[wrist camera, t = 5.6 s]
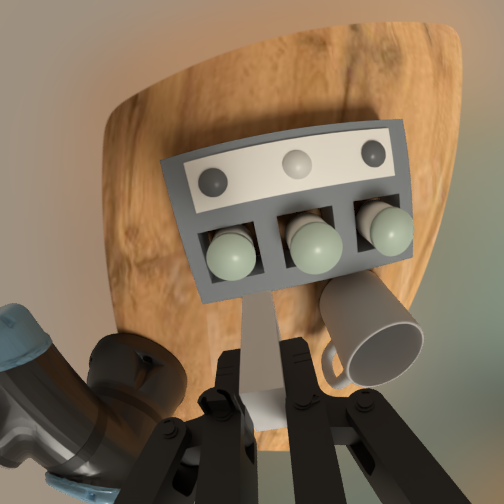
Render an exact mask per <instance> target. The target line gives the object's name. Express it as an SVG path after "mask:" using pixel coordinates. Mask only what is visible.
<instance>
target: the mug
mask: <svg viewBox="0 0 504 504" xmlns="http://www.w3.org/2000/svg"><path fill="white" fill-rule="evenodd" d="M319 307H320V313H321V316H322V319H323V321H324V323H325V325H326V327H327V330H328V332H329V334H330V337H331V341H330V342H329V343H328V345H327V346H326V348H325V349H324V351H323V354H322V359H321V363H322V370H323V374H324V377H325V379H326V381H327V382H328V384H329V385H330V386H331V387H332V388H334V389H342V388H344V387H346V386H348V385H349V384H350V383H351V382H352V383H353V384H355V385H358V386H361V387H374V386H378V385H382V384H385V383H387V382H390V381H392V380H393V379H395V378H397V377H398V376H400V375H401V374H403V373H404V372H405V371H406V370H407V369H408V368H409V367H410V366H411V365H412V364H413V363H414V362H415V360H416V359H417V357H418V356H419V354H420V352H421V350H422V347H423V342H424V334H423V331H422V329H421V327H420V325H419V324H418V323H417V321H416V320H415V319H414V318H413V317H412V315H411V314H410V313H409V312H408V311H407V310H406V308H405V307H404V306H403V305H402V304H401V303H400V301H399V300H398V299H397V298H396V297H395V296H394V295H393V293H392V292H391V291H390V290H389V289H388V288H387V287H386V285H385V284H384V283H383V282H382V281H381V279H380V278H379V277H378V276H377V275H376V274H374V273H373V272H371V271H369V270H363V271H359V272H355V273H350V274H346V275H342V276H338V277H334V278H333V279H332V280H331V281H330V282H329V283H328V284H327V285H326V287H325V288H324V290H323V292H322V294H321V297H320V304H319ZM336 353H337V354H338V356H339V359H340V361H341V364H342V366H343V369H344V370H343V372H342V373H341V374H340V375H339V376H338V377H337V378H336V376H335V374H334V371H333V366H332V361H333V357H334V355H335V354H336Z"/></svg>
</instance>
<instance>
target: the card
mask: <svg viewBox="0 0 504 504" xmlns="http://www.w3.org/2000/svg"><path fill="white" fill-rule="evenodd" d="M183 164H184V168H185V172H186V176H187V180H188V183H189V187H190V191H191V195H192V199H193V203H194V206H195V210H196V213H200V212H205V211H209V210H213V209H217V208H222V207H226V206H230V205H235V204H239V203H244V202H249V201H253V200H258V199H263V198H268V197H272V196H277V195H282V194H287V193H293V192H298V191H303V190H309V189H314V188H320V187H325V186H331V185H337V184H343V183H349V182H355V181H362V180H368V179H375V178H382V177H389V176H395V172H394V163H393V155H392V148H391V141H390V135H389V129H388V128H383V129H369V130H357V131H347V132H338V133H330V134H322V135H314V136H307V137H301V138H295V139H288V140H283V141H277V142H272V143H266V144H261V145H256V146H251V147H246V148H242V149H237V150H233V151H228V152H224V153H220V154H216V155H212V156H208V157H204V158H200V159H196V160H193V161H189V162H185V163H183Z"/></svg>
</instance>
